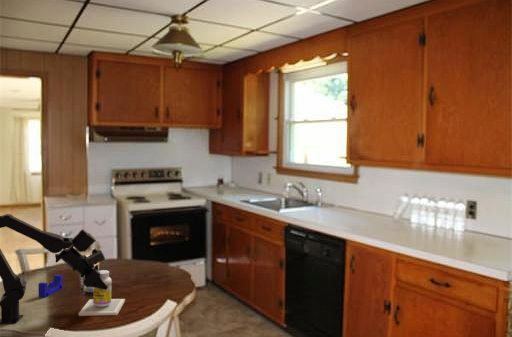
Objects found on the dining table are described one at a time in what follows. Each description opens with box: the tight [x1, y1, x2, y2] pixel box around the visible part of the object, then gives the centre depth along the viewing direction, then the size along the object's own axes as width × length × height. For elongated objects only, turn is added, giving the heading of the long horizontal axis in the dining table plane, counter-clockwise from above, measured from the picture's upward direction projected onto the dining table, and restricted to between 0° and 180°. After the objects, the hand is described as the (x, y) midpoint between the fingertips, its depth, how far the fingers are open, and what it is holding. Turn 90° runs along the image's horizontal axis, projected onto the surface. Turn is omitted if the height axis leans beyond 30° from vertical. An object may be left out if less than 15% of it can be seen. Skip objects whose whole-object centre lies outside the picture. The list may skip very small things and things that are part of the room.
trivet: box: [78, 298, 126, 317], centre depth 168 cm, size 14×14×1 cm
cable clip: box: [37, 274, 63, 299], centre depth 184 cm, size 12×4×6 cm, turn 171°
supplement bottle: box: [92, 269, 112, 307], centre depth 168 cm, size 7×7×13 cm
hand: (106, 285), depth 168 cm, fingers open, 7 cm apart
